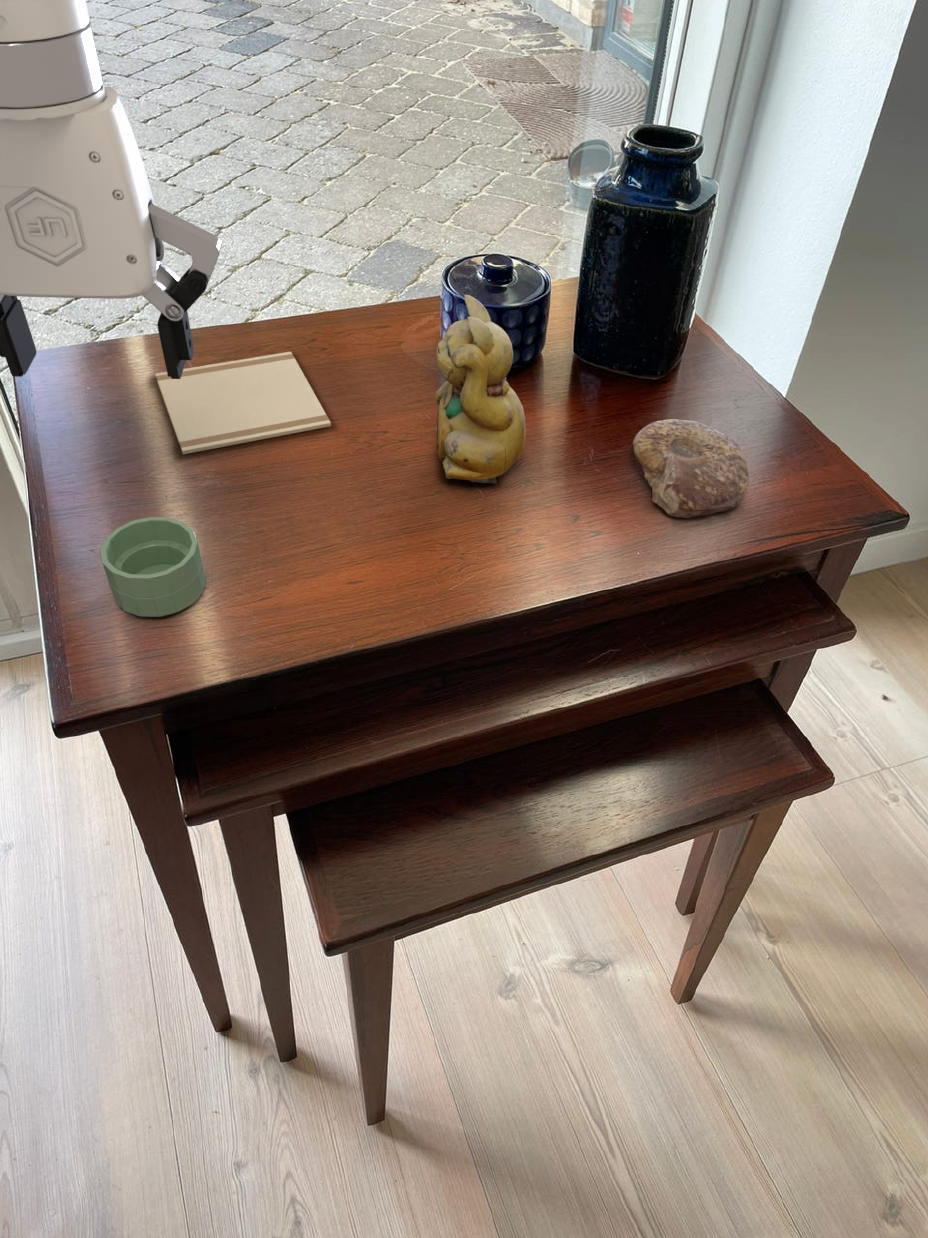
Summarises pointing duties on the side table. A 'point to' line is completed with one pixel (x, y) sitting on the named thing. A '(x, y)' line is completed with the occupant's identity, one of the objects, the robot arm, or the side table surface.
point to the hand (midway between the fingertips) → (102, 366)
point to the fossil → (691, 467)
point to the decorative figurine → (477, 400)
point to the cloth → (240, 402)
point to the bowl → (153, 566)
